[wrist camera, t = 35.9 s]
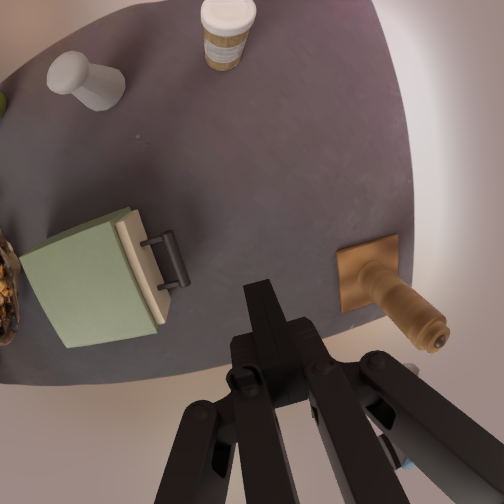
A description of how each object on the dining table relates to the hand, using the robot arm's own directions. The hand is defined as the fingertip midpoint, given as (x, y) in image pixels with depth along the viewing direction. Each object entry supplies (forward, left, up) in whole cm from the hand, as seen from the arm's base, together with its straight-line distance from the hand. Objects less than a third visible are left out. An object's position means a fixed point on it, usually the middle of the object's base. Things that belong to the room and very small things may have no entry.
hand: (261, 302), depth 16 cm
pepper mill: (-14, -18, -20) cm, 31 cm away
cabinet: (-2, +21, -21) cm, 29 cm away
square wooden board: (-14, -18, -21) cm, 31 cm away
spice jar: (+21, -3, -21) cm, 30 cm away
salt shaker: (+21, +12, -21) cm, 32 cm away
